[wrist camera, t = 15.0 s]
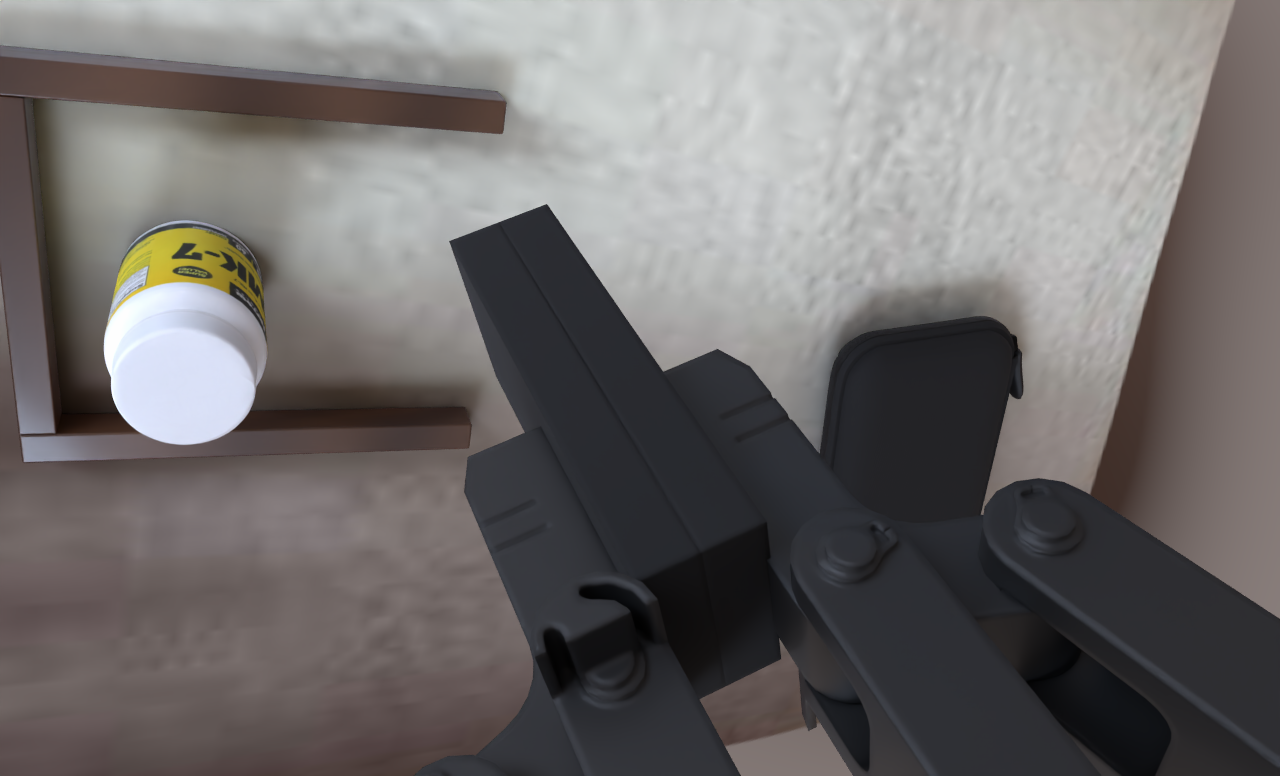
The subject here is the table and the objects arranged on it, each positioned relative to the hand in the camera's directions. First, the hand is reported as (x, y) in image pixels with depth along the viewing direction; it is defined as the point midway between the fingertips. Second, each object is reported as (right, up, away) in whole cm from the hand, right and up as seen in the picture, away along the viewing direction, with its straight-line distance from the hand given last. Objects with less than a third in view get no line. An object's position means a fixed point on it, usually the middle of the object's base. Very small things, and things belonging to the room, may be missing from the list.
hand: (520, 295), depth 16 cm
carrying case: (+15, -4, +38) cm, 41 cm away
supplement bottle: (-14, +3, +22) cm, 27 cm away
